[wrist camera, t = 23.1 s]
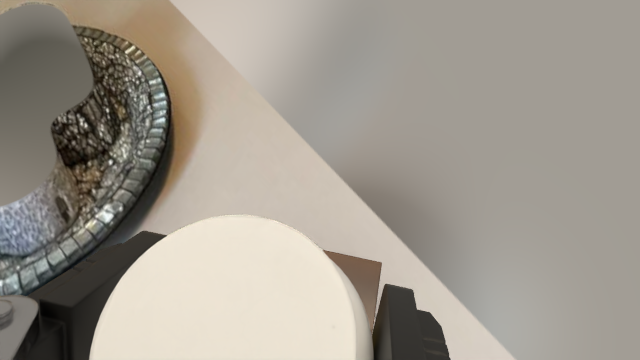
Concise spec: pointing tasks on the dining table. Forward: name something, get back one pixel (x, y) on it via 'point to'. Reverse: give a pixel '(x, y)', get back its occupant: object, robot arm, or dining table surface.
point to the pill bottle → (233, 299)
